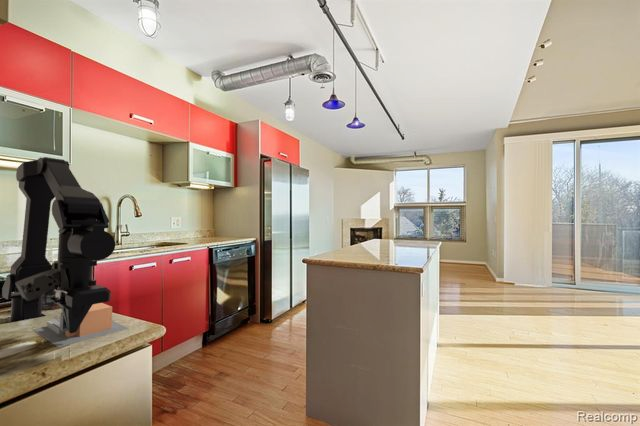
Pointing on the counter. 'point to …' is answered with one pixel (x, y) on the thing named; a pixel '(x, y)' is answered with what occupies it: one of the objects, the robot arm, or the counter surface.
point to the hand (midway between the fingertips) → (72, 332)
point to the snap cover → (95, 320)
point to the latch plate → (61, 339)
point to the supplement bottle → (49, 301)
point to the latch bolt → (60, 322)
